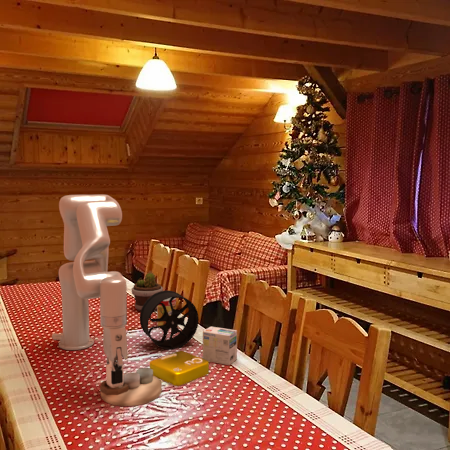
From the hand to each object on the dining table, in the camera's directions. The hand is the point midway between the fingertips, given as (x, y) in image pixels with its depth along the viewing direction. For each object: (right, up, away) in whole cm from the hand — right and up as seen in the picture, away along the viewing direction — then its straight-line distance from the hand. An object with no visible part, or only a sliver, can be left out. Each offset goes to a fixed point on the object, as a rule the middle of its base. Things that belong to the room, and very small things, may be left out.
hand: (114, 379), depth 147 cm
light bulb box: (+31, -2, +28) cm, 42 cm away
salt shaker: (0, -2, 0) cm, 2 cm away
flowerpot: (-4, +5, +89) cm, 89 cm away
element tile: (+18, -4, +17) cm, 25 cm away
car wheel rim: (+11, 0, +43) cm, 44 cm away
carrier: (+4, -5, +3) cm, 7 cm away
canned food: (+8, +2, +66) cm, 66 cm away
